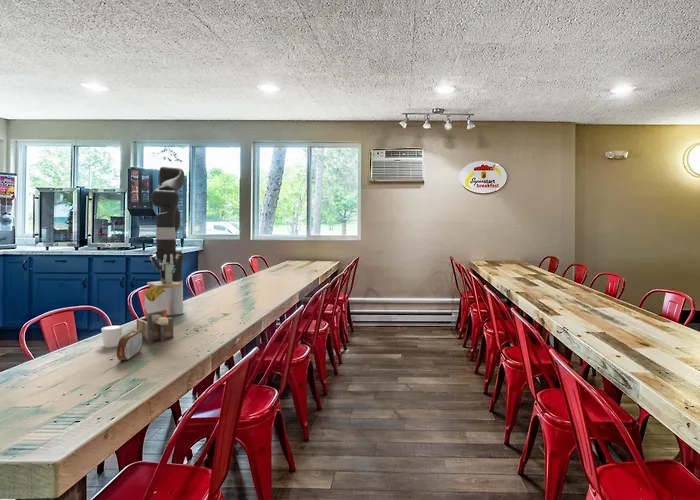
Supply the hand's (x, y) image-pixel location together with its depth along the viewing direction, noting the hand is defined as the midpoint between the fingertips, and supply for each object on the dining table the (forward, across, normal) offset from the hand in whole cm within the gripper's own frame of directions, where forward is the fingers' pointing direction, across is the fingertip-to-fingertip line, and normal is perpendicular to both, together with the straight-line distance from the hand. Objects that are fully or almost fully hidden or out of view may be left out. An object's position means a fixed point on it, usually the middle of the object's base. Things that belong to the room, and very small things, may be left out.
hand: (166, 278), depth 169 cm
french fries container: (+24, +4, +22) cm, 33 cm away
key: (+15, -9, -14) cm, 22 cm away
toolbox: (+23, -7, -3) cm, 25 cm away
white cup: (+24, -22, -2) cm, 32 cm away
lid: (+3, -1, 0) cm, 3 cm away
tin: (+23, -22, -21) cm, 38 cm away
